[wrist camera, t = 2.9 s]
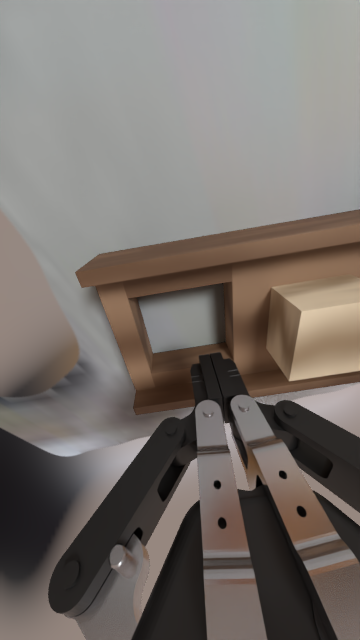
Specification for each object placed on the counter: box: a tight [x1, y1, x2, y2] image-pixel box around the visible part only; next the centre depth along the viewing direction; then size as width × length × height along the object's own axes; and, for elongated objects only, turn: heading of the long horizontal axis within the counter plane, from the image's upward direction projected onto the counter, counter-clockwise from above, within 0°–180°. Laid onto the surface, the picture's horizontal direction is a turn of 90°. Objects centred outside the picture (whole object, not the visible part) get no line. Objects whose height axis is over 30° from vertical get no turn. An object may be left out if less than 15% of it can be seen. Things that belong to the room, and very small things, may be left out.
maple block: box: [266, 274, 360, 381], centre depth 15 cm, size 6×6×4 cm
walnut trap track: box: [75, 210, 360, 415], centre depth 17 cm, size 14×42×5 cm, turn 98°
